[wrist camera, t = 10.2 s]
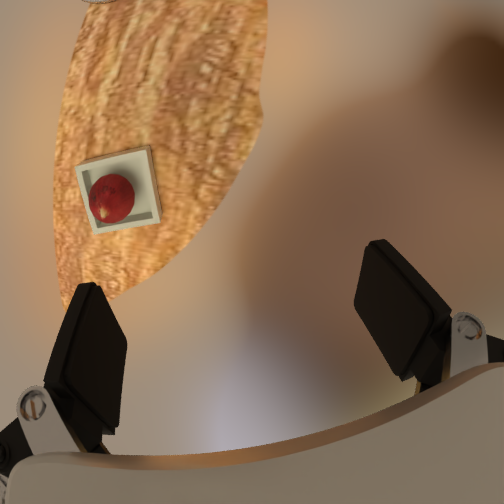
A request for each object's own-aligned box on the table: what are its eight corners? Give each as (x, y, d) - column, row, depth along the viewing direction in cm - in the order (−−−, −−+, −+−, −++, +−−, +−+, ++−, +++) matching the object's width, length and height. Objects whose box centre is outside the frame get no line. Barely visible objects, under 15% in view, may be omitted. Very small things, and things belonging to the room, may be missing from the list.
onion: (90, 187, 32) (68, 212, 25) (119, 157, 31) (99, 176, 24) (119, 216, 35) (104, 247, 28) (148, 189, 34) (137, 215, 27)
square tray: (82, 161, 30) (74, 166, 28) (149, 145, 32) (146, 149, 29) (99, 225, 36) (93, 234, 33) (162, 213, 37) (160, 222, 34)
